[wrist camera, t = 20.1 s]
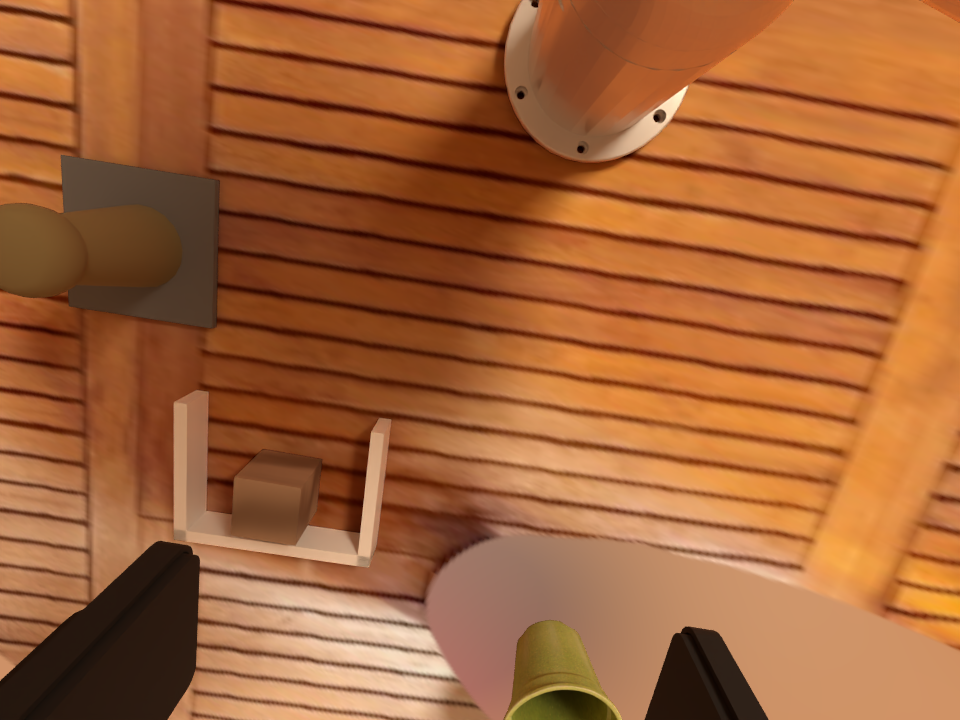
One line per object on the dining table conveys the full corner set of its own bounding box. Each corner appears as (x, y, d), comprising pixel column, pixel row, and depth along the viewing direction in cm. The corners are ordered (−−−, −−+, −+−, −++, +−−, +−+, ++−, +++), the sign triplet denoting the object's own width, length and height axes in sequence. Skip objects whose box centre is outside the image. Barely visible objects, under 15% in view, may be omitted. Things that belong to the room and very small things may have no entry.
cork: (92, 267, 37) (-65, 281, 27) (111, 190, 36) (-47, 172, 25) (170, 300, 38) (46, 327, 27) (192, 225, 36) (70, 222, 26)
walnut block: (263, 448, 42) (234, 476, 37) (322, 458, 42) (301, 488, 37) (259, 501, 43) (230, 535, 38) (316, 510, 43) (295, 545, 38)
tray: (196, 389, 40) (173, 402, 37) (391, 419, 41) (384, 433, 38) (194, 519, 43) (173, 539, 40) (376, 545, 44) (368, 567, 41)
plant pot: (487, 614, 45) (487, 701, 37) (588, 593, 45) (612, 677, 36) (511, 693, 48) (517, 792, 39) (608, 675, 47) (635, 771, 39)
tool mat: (67, 156, 36) (60, 154, 35) (219, 180, 36) (215, 179, 36) (75, 305, 39) (68, 306, 38) (216, 327, 39) (212, 328, 38)
